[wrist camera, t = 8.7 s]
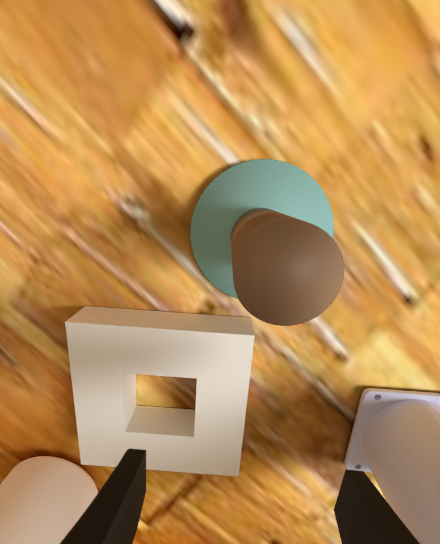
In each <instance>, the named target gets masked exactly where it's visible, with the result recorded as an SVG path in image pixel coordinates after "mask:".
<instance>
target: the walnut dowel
mask: <svg viewBox="0 0 440 544" xmlns="http://www.w3.org/2000/svg"><path fill="white" fill-rule="evenodd" d="M231 255H232V271H233V283H234V288H235V292H236V294H237V297H238V299H239V301H240V302H241V304H242V305H243V306H244V308H245V309H246V310H247V311H248V312H249V313H250V314H252V315H253V316H255V317H256V318H258V319H260V320H262V321H264V322H267V323H269V324H274V325H281V326H290V325H297V324H301V323H304V322H307V321H309V320H311V319H313V318H315V317H317V316H318V315H320V314H321V313H323V312H324V311H325V310H326V309H327V308H328V307H329V306H330V305H331V304H332V302H333V301H334V300H335V298H336V297H337V295H338V293H339V291H340V288H341V286H342V282H343V277H344V262H343V257H342V254H341V251H340V249H339V247H338V245H337V244H336V242H335V241H334V239H333V238H332V237H331V236H330V235H329V234H328V233H327V232H325V231H324V230H323V229H321V228H320V227H318V226H316V225H314V224H311V223H308V222H306V221H303V220H300V219H297V218H294V217H291V216H288V215H285V214H283V213H280V212H277V211H274V210H271V209H267V208H257V209H253V210H250V211H248V212H246V213H244V214H243V215H242V216H241V217H240V218H239V219H238V220H237V221H236V223H235V224H234V226H233V229H232V232H231Z"/></svg>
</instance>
